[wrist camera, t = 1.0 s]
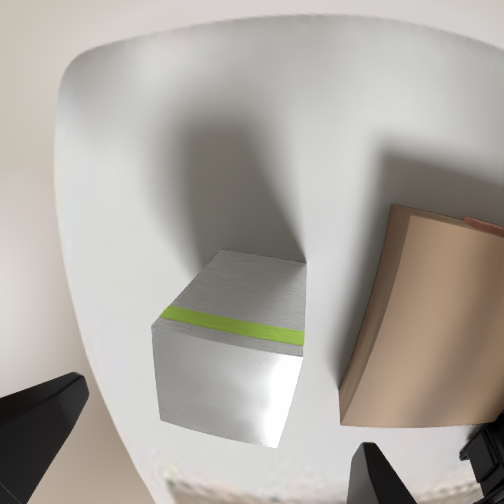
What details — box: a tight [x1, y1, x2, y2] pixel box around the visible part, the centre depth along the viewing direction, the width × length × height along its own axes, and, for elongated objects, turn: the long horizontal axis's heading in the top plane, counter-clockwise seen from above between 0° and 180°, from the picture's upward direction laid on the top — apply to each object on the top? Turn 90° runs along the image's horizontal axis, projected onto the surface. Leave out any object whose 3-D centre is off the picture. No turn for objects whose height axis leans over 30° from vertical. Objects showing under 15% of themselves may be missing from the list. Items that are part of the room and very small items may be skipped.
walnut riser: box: [339, 204, 504, 428], centre depth 14 cm, size 12×12×3 cm
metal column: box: [151, 249, 307, 448], centre depth 13 cm, size 4×4×8 cm
